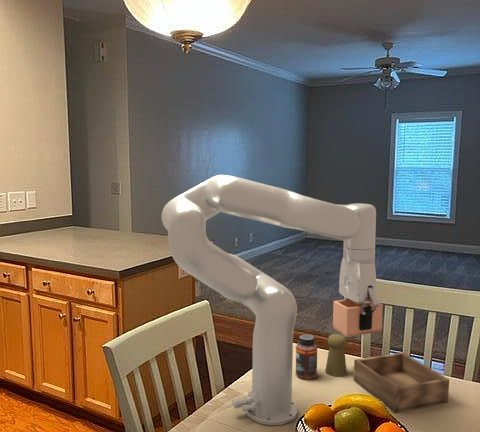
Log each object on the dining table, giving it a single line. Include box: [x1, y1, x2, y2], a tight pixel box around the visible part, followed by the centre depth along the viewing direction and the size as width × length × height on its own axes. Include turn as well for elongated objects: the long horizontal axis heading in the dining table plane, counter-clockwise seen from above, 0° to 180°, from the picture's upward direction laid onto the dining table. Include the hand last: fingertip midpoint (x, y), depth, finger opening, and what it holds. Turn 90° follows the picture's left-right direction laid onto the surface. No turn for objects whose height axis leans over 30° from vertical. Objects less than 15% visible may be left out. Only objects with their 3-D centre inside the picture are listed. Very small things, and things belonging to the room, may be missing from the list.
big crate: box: [353, 352, 450, 414], centre depth 128 cm, size 16×18×6 cm
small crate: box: [332, 299, 384, 338], centre depth 121 cm, size 10×6×7 cm, turn 109°
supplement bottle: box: [295, 334, 318, 380], centre depth 136 cm, size 6×6×11 cm
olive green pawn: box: [324, 333, 348, 378], centre depth 138 cm, size 6×6×11 cm
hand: (357, 324), depth 121 cm, fingers closed on small crate, 6 cm apart
